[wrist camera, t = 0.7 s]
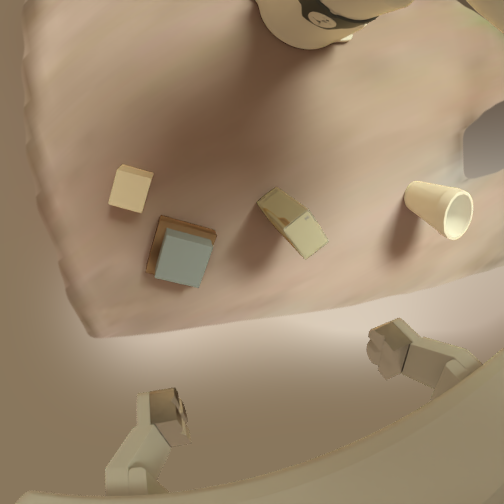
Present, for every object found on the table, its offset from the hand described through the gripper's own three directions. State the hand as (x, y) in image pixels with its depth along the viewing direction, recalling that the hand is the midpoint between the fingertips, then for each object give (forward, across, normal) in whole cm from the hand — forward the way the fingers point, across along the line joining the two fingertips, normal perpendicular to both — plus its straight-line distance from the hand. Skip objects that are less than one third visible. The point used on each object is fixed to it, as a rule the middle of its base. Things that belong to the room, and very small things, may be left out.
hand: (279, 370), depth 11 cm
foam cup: (+38, -43, +10) cm, 58 cm away
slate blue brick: (+36, +4, +10) cm, 37 cm away
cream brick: (+38, +9, -2) cm, 39 cm away
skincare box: (+38, -12, +7) cm, 41 cm away
